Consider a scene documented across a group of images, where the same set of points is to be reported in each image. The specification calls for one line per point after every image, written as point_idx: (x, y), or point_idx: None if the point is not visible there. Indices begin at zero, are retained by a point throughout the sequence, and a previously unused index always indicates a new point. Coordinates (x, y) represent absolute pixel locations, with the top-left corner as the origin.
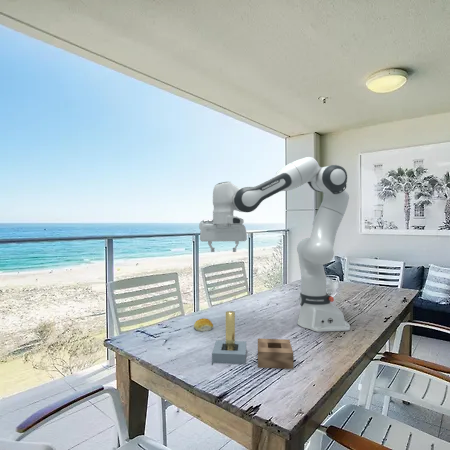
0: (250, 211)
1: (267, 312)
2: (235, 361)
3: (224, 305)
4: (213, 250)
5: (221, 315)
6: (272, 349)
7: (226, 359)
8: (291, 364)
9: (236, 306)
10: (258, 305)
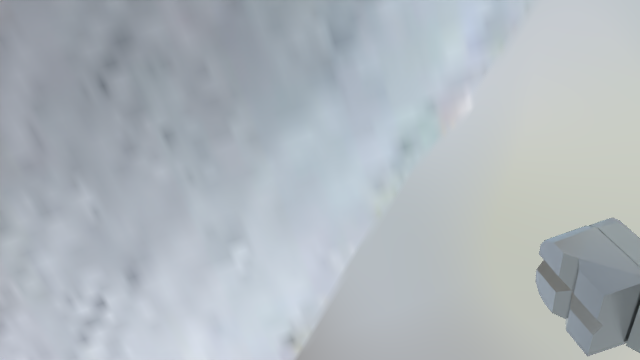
0: None
1: (49, 289)
2: None
3: (312, 291)
4: (578, 250)
5: (281, 157)
6: None
7: None
8: None
9: (248, 302)
10: (143, 356)
